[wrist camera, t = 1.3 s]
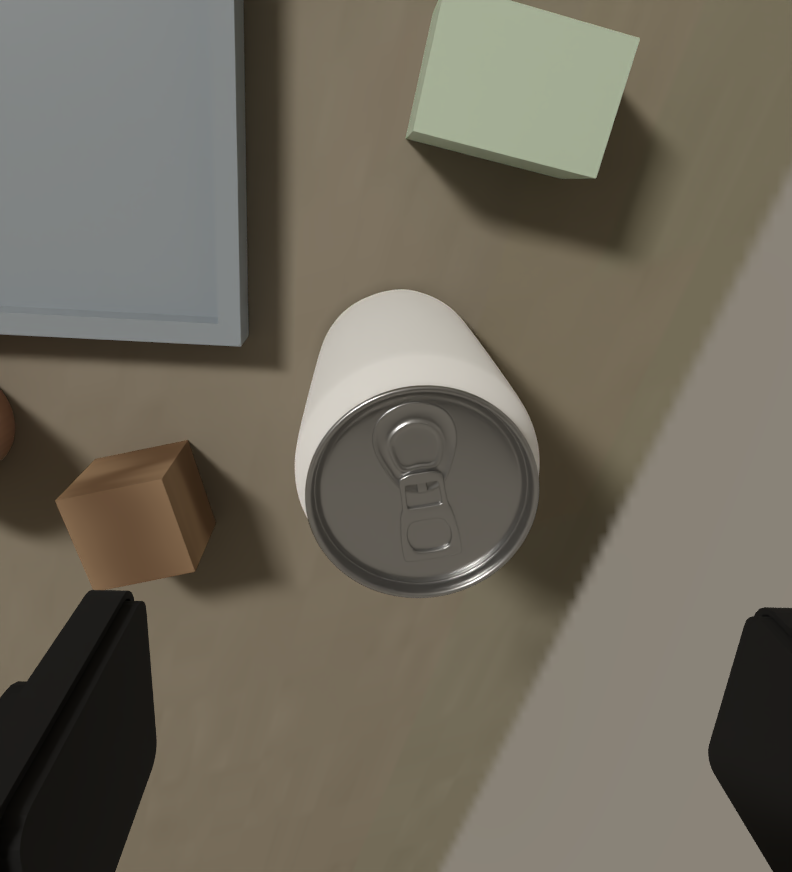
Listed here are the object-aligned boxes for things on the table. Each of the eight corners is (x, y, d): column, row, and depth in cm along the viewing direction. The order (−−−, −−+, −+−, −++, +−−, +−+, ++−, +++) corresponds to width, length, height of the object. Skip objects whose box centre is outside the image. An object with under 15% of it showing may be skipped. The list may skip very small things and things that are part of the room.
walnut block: (188, 439, 28) (161, 479, 24) (216, 522, 29) (194, 571, 25) (95, 458, 28) (54, 500, 24) (128, 539, 29) (94, 592, 26)
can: (467, 274, 26) (547, 345, 15) (485, 428, 28) (566, 591, 17) (303, 301, 26) (258, 393, 15) (335, 453, 28) (315, 631, 17)
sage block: (595, 61, 24) (640, 38, 20) (561, 178, 25) (595, 178, 21) (432, 14, 23) (445, -19, 19) (405, 138, 24) (412, 130, 20)
